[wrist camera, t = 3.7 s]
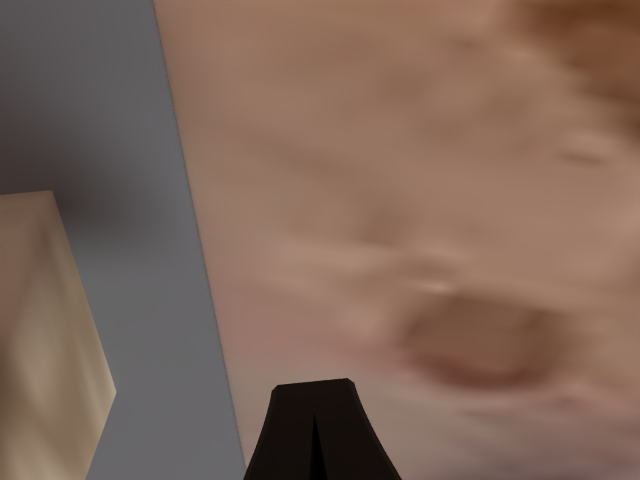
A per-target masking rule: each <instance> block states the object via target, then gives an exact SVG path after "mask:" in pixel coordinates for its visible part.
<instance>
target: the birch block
mask: <svg viewBox="0 0 640 480" xmlns="http://www.w3.org/2000/svg"><path fill="white" fill-rule="evenodd" d="M115 395H116V389H115V386H114V383H113V380H112V376H111V373H110V370H109V367H108V364H107V361H106V358H105V354H104V351H103V348H102V345H101V342H100V339H99V336H98V332H97V329H96V326H95V323H94V320H93V317H92V314H91V310H90V307H89V304H88V301H87V298H86V295H85V292H84V288H83V285H82V282H81V279H80V276H79V273H78V270H77V267H76V263H75V260H74V257H73V254H72V251H71V248H70V245H69V241H68V238H67V235H66V232H65V229H64V226H63V223H62V219H61V216H60V213H59V210H58V207H57V204H56V201H55V197H54V194H53V191H52V190H47V191H37V192H26V193H16V194H6V195H0V480H85V479H86V476H87V473H88V470H89V468H90V465H91V462H92V459H93V456H94V454H95V451H96V448H97V445H98V442H99V440H100V437H101V434H102V431H103V429H104V426H105V423H106V420H107V417H108V415H109V412H110V409H111V406H112V403H113V401H114V398H115Z"/></svg>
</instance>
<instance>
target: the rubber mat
mask: <svg viewBox="0 0 640 480" xmlns="http://www.w3.org/2000/svg"><path fill="white" fill-rule="evenodd" d="M47 190H52V191H53V194H54V197H55V201H56V204H57V207H58V210H59V213H60V216H61V219H62V223H63V226H64V229H65V232H66V235H67V238H68V241H69V245H70V248H71V251H72V254H73V257H74V260H75V263H76V267H77V270H78V273H79V276H80V279H81V282H82V285H83V288H84V292H85V295H86V298H87V301H88V304H89V307H90V310H91V314H92V317H93V320H94V323H95V326H96V329H97V332H98V336H99V339H100V342H101V345H102V348H103V351H104V354H105V358H106V361H107V364H108V367H109V370H110V373H111V376H112V380H113V383H114V386H115V389H116V395H115V398H114V401H113V403H112V406H111V409H110V412H109V415H108V417H107V420H106V423H105V426H104V429H103V431H102V434H101V437H100V440H99V442H98V445H97V448H96V451H95V454H94V456H93V459H92V462H91V465H90V468H89V470H88V473H87V476H86V479H85V480H243V478H244V476H245V473H246V467H245V462H244V457H243V452H242V447H241V442H240V437H239V432H238V427H237V422H236V417H235V412H234V407H233V402H232V397H231V392H230V387H229V382H228V377H227V372H226V366H225V361H224V356H223V351H222V346H221V341H220V336H219V331H218V326H217V321H216V316H215V311H214V306H213V301H212V296H211V291H210V286H209V281H208V276H207V271H206V266H205V261H204V256H203V251H202V246H201V241H200V236H199V231H198V226H197V221H196V216H195V210H194V205H193V200H192V195H191V190H190V185H189V180H188V175H187V170H186V165H185V160H184V155H183V150H182V145H181V140H180V135H179V130H178V125H177V120H176V115H175V110H174V105H173V100H172V95H171V90H170V85H169V80H168V75H167V70H166V65H165V60H164V54H163V49H162V44H161V39H160V34H159V29H158V24H157V19H156V14H155V9H154V4H153V0H0V195H6V194H16V193H26V192H37V191H47Z"/></svg>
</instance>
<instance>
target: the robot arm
mask: <svg viewBox="0 0 640 480" xmlns="http://www.w3.org/2000/svg"><path fill="white" fill-rule="evenodd" d="M243 480H402V479H401V477H400V476H399V474H398V472H397V470H396V469H395V467H394V465H393V464H392V462H391V460H390V459H389V457H388V455H387V454H386V452H385V450H384V448H383V447H382V445H381V443H380V441H379V439H378V437H377V436H376V434H375V432H374V430H373V428H372V426H371V424H370V422H369V420H368V417H367V415H366V413H365V411H364V409H363V406H362V404H361V402H360V399H359V396H358V394H357V391H356V388H355V384H354V382H352V381H351V380H350V379H348V378H343V379H333V380H323V381H313V382H303V383H293V384H283V385H277V386H276V387H275V388H274V389H273V390H272V393H271V399H270V403H269V407H268V411H267V415H266V418H265V422H264V425H263V428H262V431H261V434H260V437H259V440H258V442H257V445H256V448H255V451H254V453H253V456H252V458H251V461H250V463H249V466H248V468H247V471H246V473H245V476H244V478H243Z"/></svg>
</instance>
